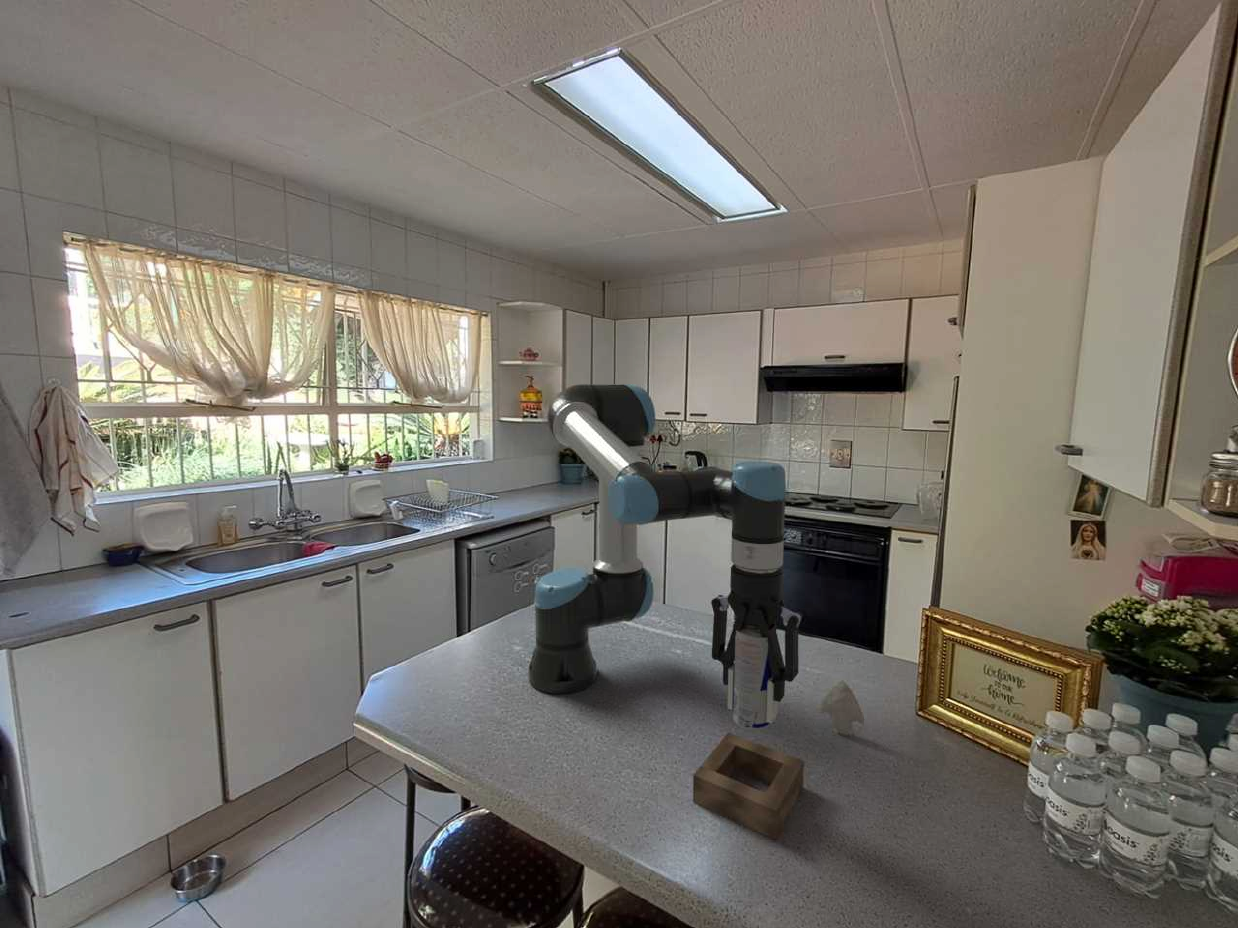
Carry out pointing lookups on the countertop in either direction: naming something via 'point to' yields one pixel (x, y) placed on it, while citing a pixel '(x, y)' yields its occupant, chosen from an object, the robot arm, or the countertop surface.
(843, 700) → the arrowhead
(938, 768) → the countertop surface
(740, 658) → the beverage can
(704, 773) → the socket
